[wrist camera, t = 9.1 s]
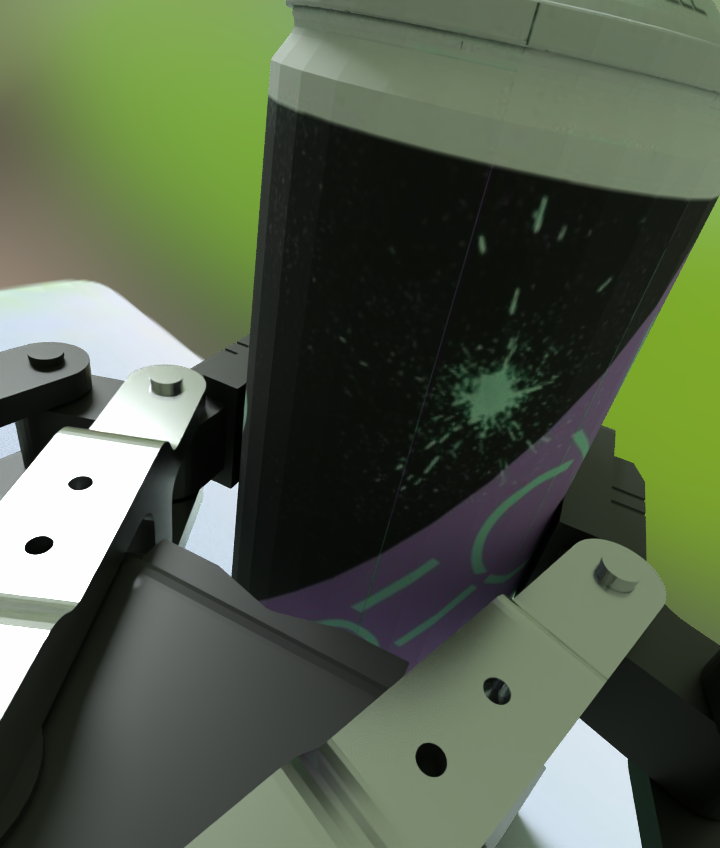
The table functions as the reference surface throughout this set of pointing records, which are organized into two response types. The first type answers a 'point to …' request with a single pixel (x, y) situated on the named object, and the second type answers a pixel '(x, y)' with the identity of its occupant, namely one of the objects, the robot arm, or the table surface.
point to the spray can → (455, 287)
